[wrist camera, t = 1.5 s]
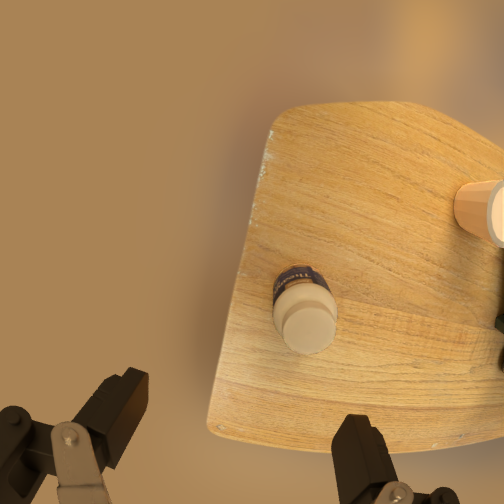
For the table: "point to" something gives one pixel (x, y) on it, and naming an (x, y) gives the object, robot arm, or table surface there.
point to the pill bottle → (304, 309)
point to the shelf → (500, 323)
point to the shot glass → (482, 210)
